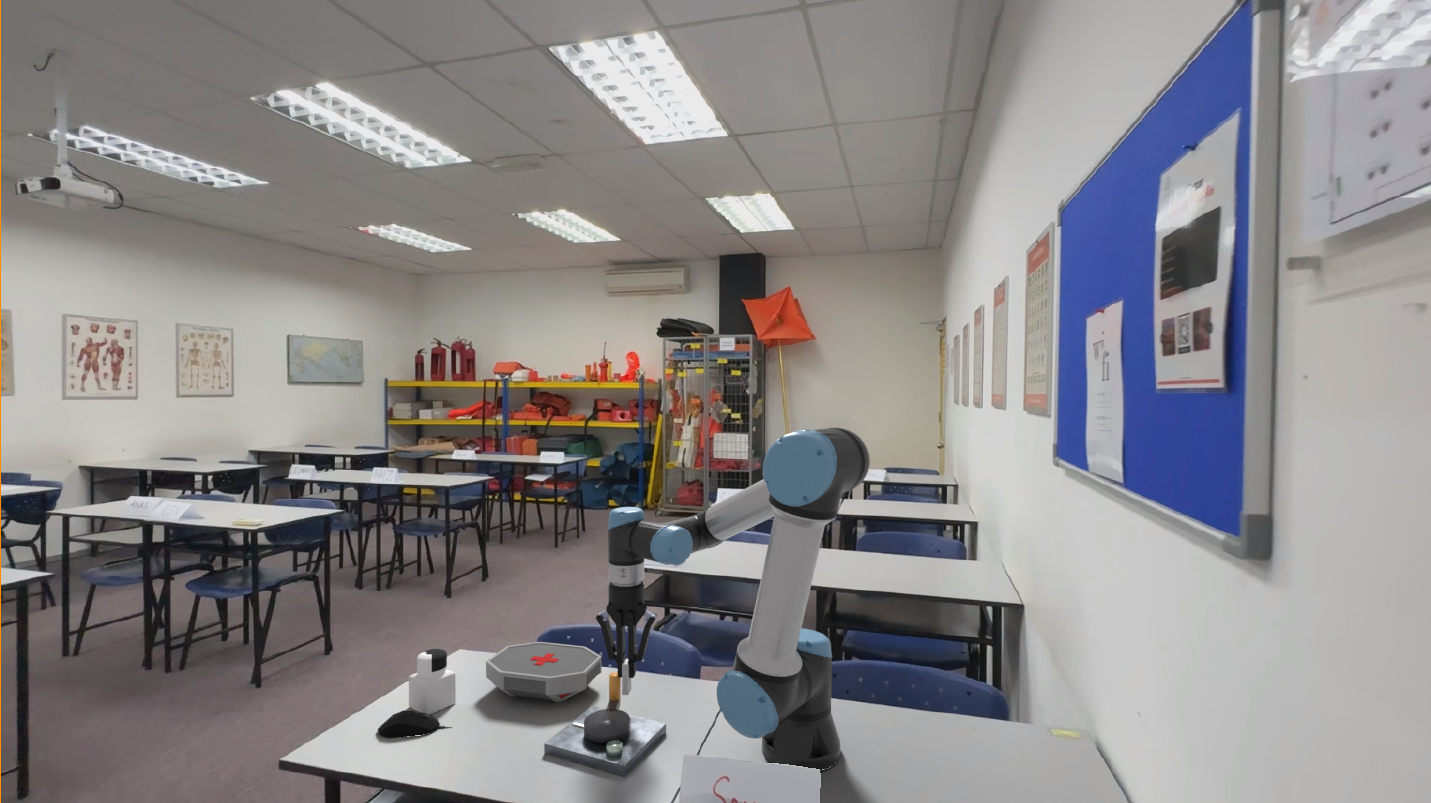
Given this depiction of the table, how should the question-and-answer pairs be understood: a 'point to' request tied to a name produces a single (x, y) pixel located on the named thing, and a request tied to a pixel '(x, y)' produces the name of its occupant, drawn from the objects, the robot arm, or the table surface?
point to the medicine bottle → (432, 683)
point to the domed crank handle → (608, 717)
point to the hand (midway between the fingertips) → (626, 691)
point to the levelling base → (606, 744)
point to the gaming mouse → (409, 724)
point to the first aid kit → (543, 670)
